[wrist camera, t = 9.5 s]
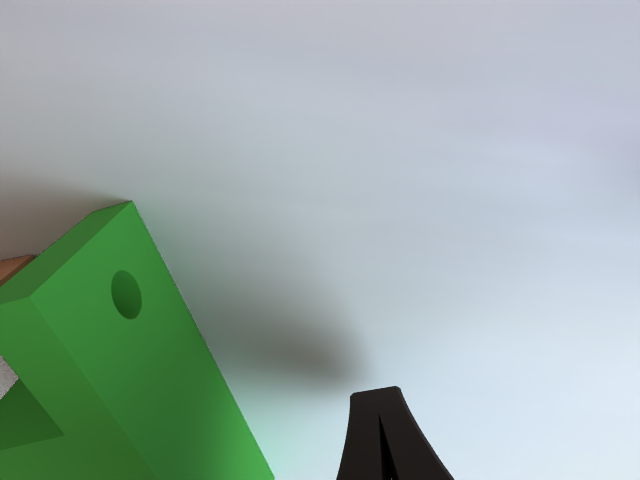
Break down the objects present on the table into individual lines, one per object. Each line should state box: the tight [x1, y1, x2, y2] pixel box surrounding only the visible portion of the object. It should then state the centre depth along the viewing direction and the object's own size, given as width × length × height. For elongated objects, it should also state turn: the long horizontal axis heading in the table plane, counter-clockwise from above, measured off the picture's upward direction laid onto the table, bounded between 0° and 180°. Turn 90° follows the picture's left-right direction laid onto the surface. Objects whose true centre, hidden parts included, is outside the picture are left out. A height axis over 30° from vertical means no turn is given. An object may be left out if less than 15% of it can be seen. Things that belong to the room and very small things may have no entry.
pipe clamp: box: [0, 201, 274, 480], centre depth 11 cm, size 11×4×5 cm, turn 16°
